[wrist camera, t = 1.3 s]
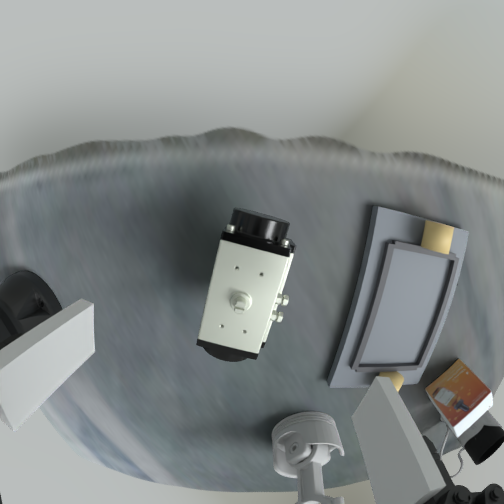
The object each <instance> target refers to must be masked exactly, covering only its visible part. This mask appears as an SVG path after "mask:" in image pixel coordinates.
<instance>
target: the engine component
mask: <svg viewBox="0 0 504 504" xmlns="http://www.w3.org/2000/svg"><path fill="white" fill-rule="evenodd" d="M272 445H273V463H274V469H275V470H276V472H277V473H279V474H281V475H283V476H286V477H291V478H297V480H298V502H297V503H295V504H317V503H321V504H344V499H343V497H337V498H332V497H330V496H324V487H323V477H322V468H321V466H322V465H324V464H326V463H327V462H328V461H329V460H330V452H331V451H332V450H333V449H335V448H338V450H339V453H340V455H342V456H344V450H343V447H342V444H341V440H340V437H339V434H338V431H337V428H336V424H335V422H334V420H333V418H332V417H331V416H329V415H327V414H325V413H322V412H314V411H310V412H301V413H297V414H294V415H291V416H288V417H286V418H284V419H283V420H281V421H280V422H279V423H278V424H276V426H275V427H274V429H273V431H272Z"/></svg>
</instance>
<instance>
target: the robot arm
mask: <svg viewBox="0 0 504 504" xmlns="http://www.w3.org/2000/svg"><path fill="white" fill-rule="evenodd" d="M94 352H95V343H94V304H93V303H90V302H88V301H86V300H83V299H80V300H78V301H76V302H75V303H73V304H71V305H70V306H68V307H66V308H65V309H63V310H62V308H61V306H60V304H59V302H58V300H57V298H56V297H55V295H54V294H53V292H52V291H51V289H50V288H49V287H48V286H47V284H46V283H45V282H44V281H43V280H42V279H41V278H39V277H38V276H37V275H35V274H33V273H31V272H29V271H20V272H17V273H15V274H12V275H10V276H9V277H7V278H6V279H5V281H4V282H3V283H2V284H1V285H0V418H1V420H2V421H3V422H4V423H5V424H6V425H7V426H8V427H9V428H11V429H12V430H13V431H14V432H16V431H17V429H18V428H19V427H20V426H21V425H22V424H23V423H24V422H25V421H26V420H27V419H28V418H29V417H30V416H31V415H32V414H33V413H34V412H35V410H36V409H38V408H39V407H40V405H41V404H42V403H43V402H44V401H45V400H46V399H47V398H48V397H49V396H50V395H51V394H52V393H53V392H54V391H55V390H56V389H57V388H58V387H59V386H60V385H61V384H62V383H63V382H64V381H65V380H66V379H67V378H68V377H69V376H70V375H71V374H73V373H74V372H75V371H76V370H77V369H78V368H79V367H80V366H81V365H82V364H83V363H84V362H85V361H86V360H87V359H88V358H89V357H90V356H91V355H92V354H93V353H94ZM351 418H352V421H353V424H354V428H355V431H356V434H357V438H358V441H359V444H360V448H361V451H362V454H363V458H364V461H365V465H366V468H367V472H368V476H369V479H370V483H371V487H372V490H373V494H374V498H375V502H376V504H504V491H503V489H502V487H500V486H499V485H497V484H490V485H489V486H487V487H486V488H485V489H484V490H483V491H482V492H474V493H471V492H470V491H469V490H468V489H467V488H466V487H464V486H461V485H457V486H455V485H454V484H453V482H452V480H451V478H450V476H449V474H448V472H447V470H446V468H445V466H444V464H443V462H442V460H440V459H441V458H440V456H439V454H438V453H437V450H436V448H435V446H434V444H433V443H432V442H431V441H430V440H429V439H428V438H427V437H426V436H422V435H421V433H420V432H419V430H418V428H417V426H416V424H415V422H414V420H413V419H412V417H411V415H410V413H409V411H408V409H407V408H406V406H405V404H404V402H403V400H402V399H401V397H400V395H399V393H398V392H397V390H396V388H395V386H394V385H393V383H392V381H391V380H390V378H389V377H380V376H376V377H375V379H374V381H373V382H372V384H371V386H370V388H369V389H368V391H367V393H366V395H365V396H364V398H363V400H362V401H361V403H360V405H359V406H358V408H357V409H356V411H355V412H354V414H353V416H352V417H351ZM0 504H2V500H1V495H0Z"/></svg>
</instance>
